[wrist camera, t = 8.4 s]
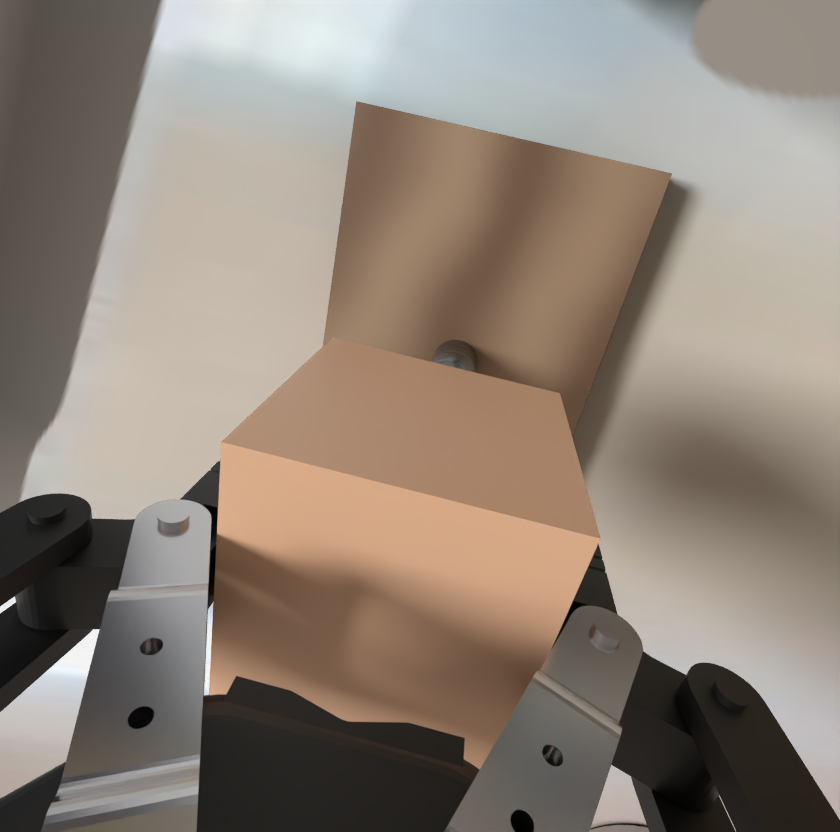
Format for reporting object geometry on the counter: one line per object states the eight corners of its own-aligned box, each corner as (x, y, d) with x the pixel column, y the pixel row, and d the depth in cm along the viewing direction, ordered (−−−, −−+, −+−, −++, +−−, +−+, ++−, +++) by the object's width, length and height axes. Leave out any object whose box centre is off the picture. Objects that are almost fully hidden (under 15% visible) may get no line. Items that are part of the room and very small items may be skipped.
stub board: (660, 174, 21) (705, 171, 16) (526, 536, 28) (531, 603, 24) (366, 106, 21) (328, 85, 17) (312, 479, 29) (276, 534, 24)
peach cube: (560, 393, 13) (600, 538, 8) (497, 571, 16) (495, 773, 11) (332, 337, 14) (221, 442, 8) (306, 522, 16) (208, 695, 11)
